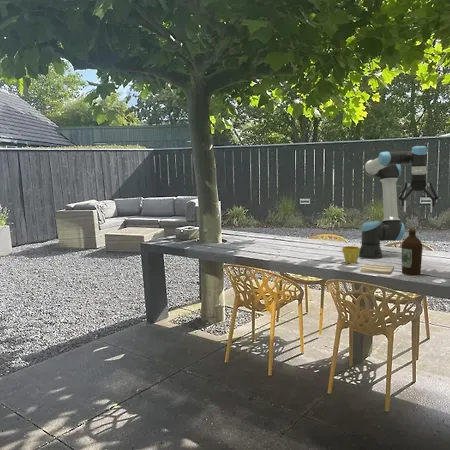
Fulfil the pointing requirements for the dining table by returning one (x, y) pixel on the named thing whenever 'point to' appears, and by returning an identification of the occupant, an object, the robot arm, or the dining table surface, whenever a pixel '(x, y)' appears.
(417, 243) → the olive oil
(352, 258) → the plant pot
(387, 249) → the dining table surface
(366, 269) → the ash board
